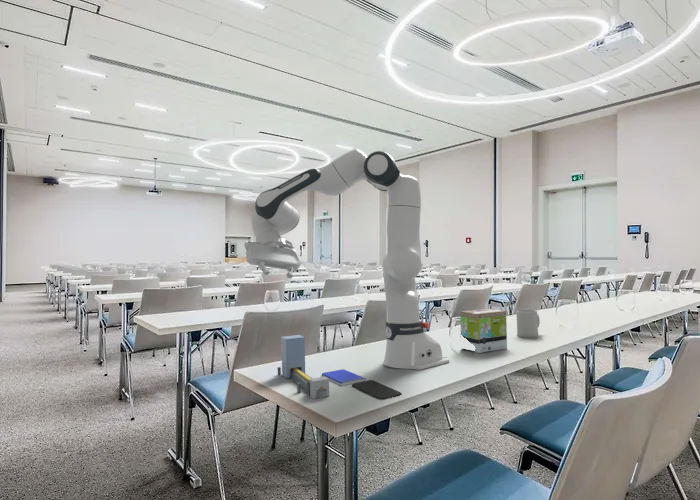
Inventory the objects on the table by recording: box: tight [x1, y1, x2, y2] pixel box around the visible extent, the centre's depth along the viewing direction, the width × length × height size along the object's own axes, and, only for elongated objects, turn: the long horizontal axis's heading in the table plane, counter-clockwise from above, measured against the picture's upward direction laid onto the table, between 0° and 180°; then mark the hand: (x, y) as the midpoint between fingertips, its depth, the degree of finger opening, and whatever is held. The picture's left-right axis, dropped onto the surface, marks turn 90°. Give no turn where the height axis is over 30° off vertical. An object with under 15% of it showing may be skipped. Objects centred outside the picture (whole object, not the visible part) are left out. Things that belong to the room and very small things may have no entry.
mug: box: [515, 309, 541, 339], centre depth 183 cm, size 12×8×11 cm
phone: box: [351, 379, 403, 401], centre depth 112 cm, size 7×1×15 cm
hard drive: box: [321, 368, 367, 387], centre depth 124 cm, size 2×8×12 cm
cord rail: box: [277, 366, 330, 399], centre depth 120 cm, size 8×28×4 cm, turn 25°
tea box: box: [459, 308, 508, 354], centre depth 159 cm, size 15×10×15 cm
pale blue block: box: [280, 334, 306, 379], centre depth 129 cm, size 6×5×12 cm
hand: (278, 275), depth 141 cm, fingers open, 8 cm apart
